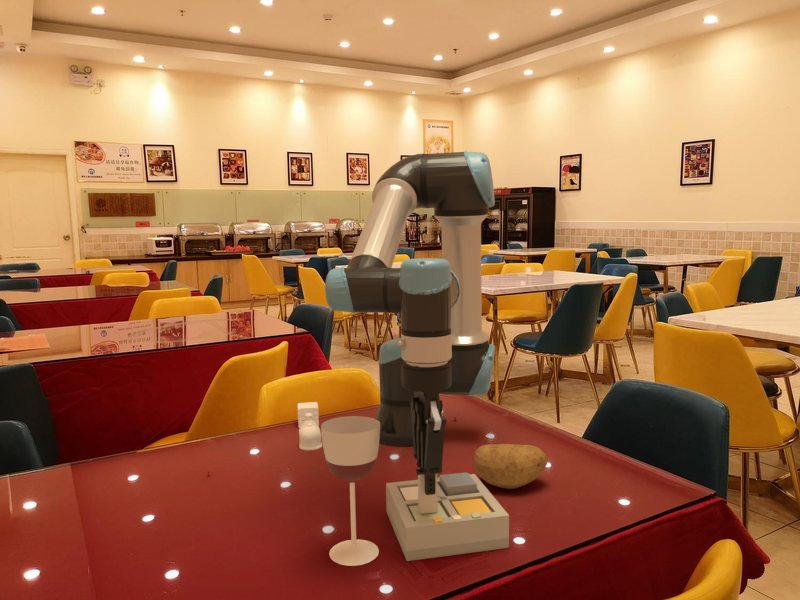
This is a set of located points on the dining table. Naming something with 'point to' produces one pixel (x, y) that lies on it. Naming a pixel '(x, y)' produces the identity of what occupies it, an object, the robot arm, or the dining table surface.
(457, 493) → the key slate
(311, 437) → the container set
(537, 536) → the dining table surface
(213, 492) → the dining table surface
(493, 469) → the potato
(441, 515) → the key sage
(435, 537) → the keypad
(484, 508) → the key amber
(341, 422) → the wineglass
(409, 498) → the key ivory
